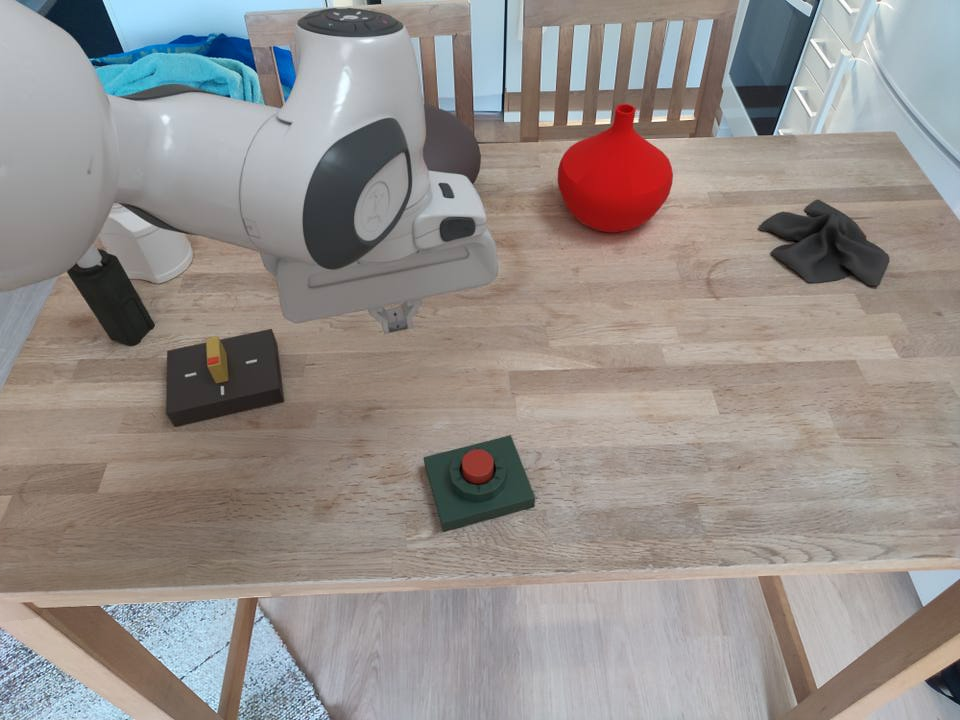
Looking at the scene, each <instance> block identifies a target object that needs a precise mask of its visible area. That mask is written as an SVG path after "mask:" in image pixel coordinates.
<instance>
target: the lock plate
mask: <svg viewBox="0 0 960 720" xmlns="http://www.w3.org/2000/svg"><path fill="white" fill-rule="evenodd" d="M220 341H221V343H222V345H223V347H224V349H225V351H226V354H227V367H228V381H226V382H222V383H217V384H216V382H215V381H214V379H213V377H212V375H211V373H210V371H209V369H208V367H207V347H206V342H202V343H197V344H193V345H188V346H182V347H179V348H178V347H177V348H173V349H168V350H166V390H165V392H166V394H165V415H166V416H167V418H168V419H169V422H171V424H172V425H173V427H175V428H176V427H181V426H184V425H189V424H193V423H197V422H198V423H199V422H202V421H206V420H211V419H215V418H220V417H224V416H228V415H232V414H238V413H241V412H245V411H251V410H253V409H254V410H255V409H259V408H263V407H267V406H272V405H276V404H280V403H285V396H284V395H285V394H284V386H283V381H282V380H283V378H282V372H281V363H280V356H279V355H280V354H279V348H278V342H277V339H276V337H275V334H274V331H273V329H272V328H268V329H263V330H259V331H255V332H250V333H245V334H239V335H235V336H229V337H226V338H220Z"/></svg>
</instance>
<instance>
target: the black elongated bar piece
mask: <svg viewBox="0 0 960 720" xmlns="http://www.w3.org/2000/svg"><path fill="white" fill-rule="evenodd" d="M66 273H67V275H68V276H69V278H70V279H71V281H72V283H73V284H74V286H75V287H76V289H77V291H78V292H79V293H80V295H81V297H82V298H83V299H84V301H85V302H86V304H87V305H88V307H89V308H90V310H91V312H92V313H93V315H94V316H95V318H96V320H97V321H98V322H99V324H100V326H101V327H102V329H103V330H104V331H105V333H106V335H107V337H108V338H109V339H110V340H111V341H112V342H116V343H119V344H122V345H125V346H128V347H134V346H135V345H138V344H140V343H141V341H142V339H144V338H145V336H146V335H147V334H148V333H149V332H150V331H151V330H154V328H155V322H154V320H153V318H152V317H151V314H150V313H149V311H148V310H147V308H146V306H145V304H144V302H143V301H142V299H141V297H140V295H139V293H138V292H137V290H136V288H135V286H134V285H133V283H132V281H131V279H129V277H128V276H127V274H126V272H125V270H124V269H123V267H122V265H121V263H120V261H119V260H118V258H117V257H116V256H115V255H112V254H108V252H107V251H106V250H104V249H102V248H101V249H100V248H97V246H96V244H95V242H94V243H93V244H92V245H91V247H90V248H89V249H88V251H87V252H86V253H85V254H84V255H83V257H82V258H81V259H80V260H79V261H78V262H77V263H76V264H75V265H74V266H73V267H72V268H71V269H69V270H68V271H67V272H66Z"/></svg>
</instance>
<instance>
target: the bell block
mask: <svg viewBox="0 0 960 720" xmlns="http://www.w3.org/2000/svg"><path fill="white" fill-rule="evenodd" d="M476 449H480V450H484V451H486V452H488V453H489V454H490V455H491V456H492V458H493V461H494V472H493V475H492V477H491V478H490V480H488V481H487V482H485V483H483V484H473V483H470V482H469V481H467V480H466V479H465V478H464V476H463V473H462V459H463V457H464V456H465V455H466V454H467V453H468V452H469V451H472V450H476ZM423 464H424V468H425V473H426V476H427V480H428V484H429V487H430V491H431V495H432V497H433V501H434V505H435V508H436V512H437V515H438V519H439V523H440V527H441V530H442V533H445V532H448V531H452V530H455V529H459V528H462V527H466V526H471V525H474V524H477V523H481V522H484V521H489V520H492V519H495V518H499V517H503V516H506V515H507V516H508V515H509V514H513V513H517V512H520V511H525V510H529V509H532V508H535V503H536V495H535V493H534V491H533V488H532V486H531V483H530V480H529V478H528V476H527V473H526V470H525V467H524V466H523V465H524V464H523V462H522V460H521V457H520V455H519V452H518V450H517V447H516V445H515V442H514V439H513V437H512V435H511V434H510V435H509V434H508V435H506V436H501V437H498V438H494V439H490V440H486V441H482V442H477V443H474V444H470V445H466V446H462V447H458V448H455V449H451V450H447V451H442V452H437V453H434V454H431V455H427V456H424V457H423Z"/></svg>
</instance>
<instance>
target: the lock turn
mask: <svg viewBox="0 0 960 720" xmlns="http://www.w3.org/2000/svg"><path fill="white" fill-rule="evenodd" d="M220 339H221V338H220V336H213V337H209V338H206V339H205V343H206V347H207V367H208V369H209V371H210V373H211V375H212V377H213V379H214V381H215V382H216V384H217V383H222V382H226V381H228V367H227V354H226V351H225V349H224V347H223V345H222V343H221V341H220Z"/></svg>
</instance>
